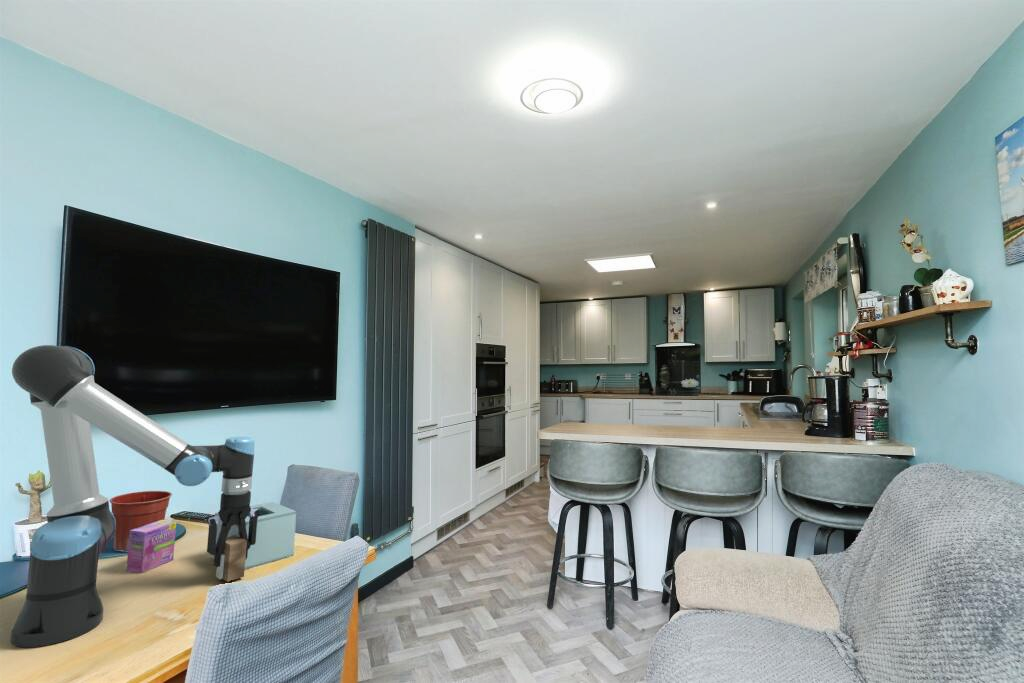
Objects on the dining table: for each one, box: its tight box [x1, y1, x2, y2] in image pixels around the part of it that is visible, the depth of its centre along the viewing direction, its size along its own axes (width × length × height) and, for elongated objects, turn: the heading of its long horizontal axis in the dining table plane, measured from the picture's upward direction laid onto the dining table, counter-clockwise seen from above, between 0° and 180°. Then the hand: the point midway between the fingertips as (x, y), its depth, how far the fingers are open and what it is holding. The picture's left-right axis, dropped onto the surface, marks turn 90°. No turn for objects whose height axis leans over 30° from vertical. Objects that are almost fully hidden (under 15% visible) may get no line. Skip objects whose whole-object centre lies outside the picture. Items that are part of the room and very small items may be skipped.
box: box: [126, 519, 177, 574], centre depth 143 cm, size 10×6×12 cm, turn 168°
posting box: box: [211, 501, 297, 570], centre depth 152 cm, size 18×16×14 cm
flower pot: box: [108, 490, 173, 551], centre depth 158 cm, size 16×16×16 cm
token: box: [215, 535, 247, 583], centre depth 136 cm, size 4×7×10 cm, turn 55°
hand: (229, 574), depth 136 cm, fingers closed on token, 5 cm apart
